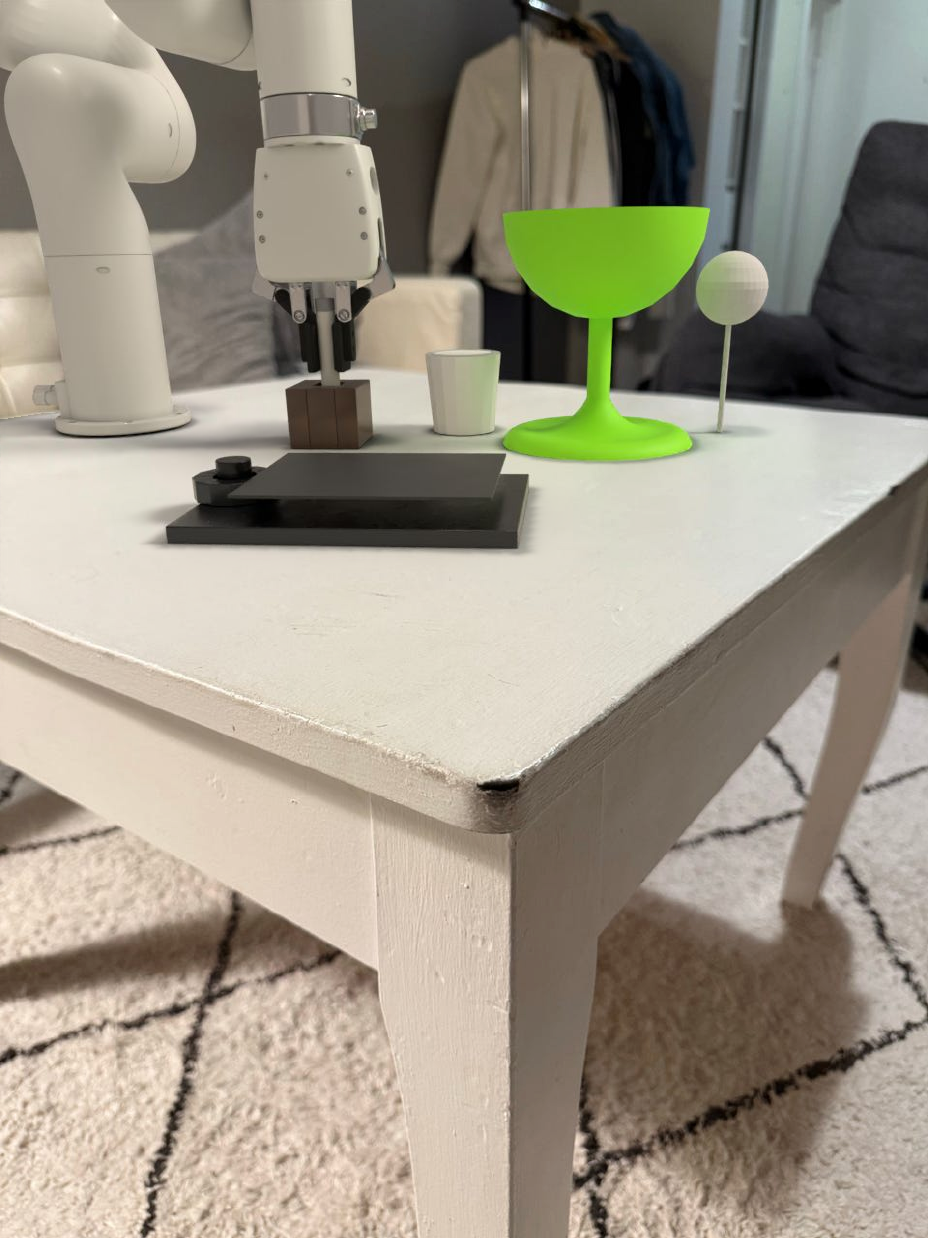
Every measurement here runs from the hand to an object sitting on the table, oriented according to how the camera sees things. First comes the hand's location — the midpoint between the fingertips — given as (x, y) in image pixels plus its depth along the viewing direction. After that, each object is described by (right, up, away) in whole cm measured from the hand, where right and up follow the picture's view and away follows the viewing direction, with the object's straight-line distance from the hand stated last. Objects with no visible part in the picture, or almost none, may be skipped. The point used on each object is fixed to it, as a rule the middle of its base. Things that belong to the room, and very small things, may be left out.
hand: (329, 369), depth 78 cm
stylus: (0, -6, +2) cm, 6 cm away
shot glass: (+12, -4, +7) cm, 14 cm away
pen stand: (0, -6, +2) cm, 6 cm away
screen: (+6, -12, -22) cm, 26 cm away
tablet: (+5, -15, -21) cm, 26 cm away
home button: (-3, -13, -20) cm, 24 cm away
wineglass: (+23, -6, 0) cm, 24 cm away
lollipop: (+34, -5, +3) cm, 35 cm away
